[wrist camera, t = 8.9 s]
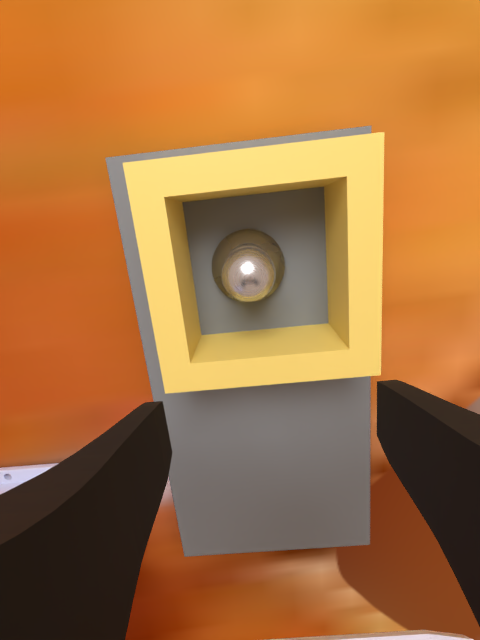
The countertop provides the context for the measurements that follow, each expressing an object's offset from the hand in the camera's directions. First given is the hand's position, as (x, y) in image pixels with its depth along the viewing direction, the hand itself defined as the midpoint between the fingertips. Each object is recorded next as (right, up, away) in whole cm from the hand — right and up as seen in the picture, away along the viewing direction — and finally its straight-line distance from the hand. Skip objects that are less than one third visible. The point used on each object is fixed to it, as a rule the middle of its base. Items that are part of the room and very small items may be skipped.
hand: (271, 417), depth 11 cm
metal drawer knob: (-1, +6, +7) cm, 9 cm away
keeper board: (0, 0, +10) cm, 10 cm away
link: (0, +6, +7) cm, 9 cm away
